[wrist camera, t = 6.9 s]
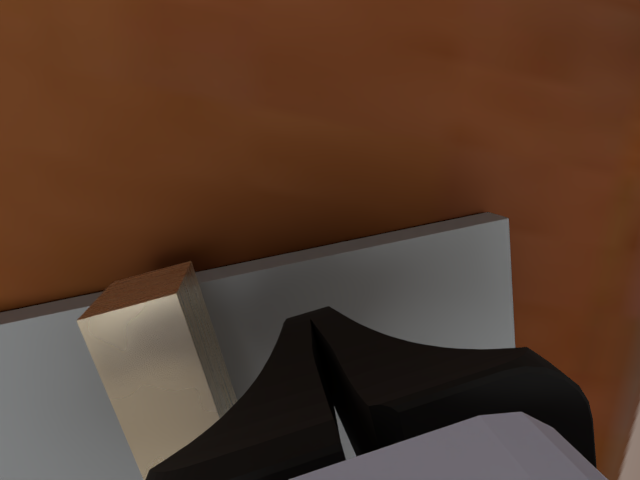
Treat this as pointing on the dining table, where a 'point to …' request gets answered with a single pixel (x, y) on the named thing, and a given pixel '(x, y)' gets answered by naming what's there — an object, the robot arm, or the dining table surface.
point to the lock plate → (252, 333)
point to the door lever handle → (158, 360)
